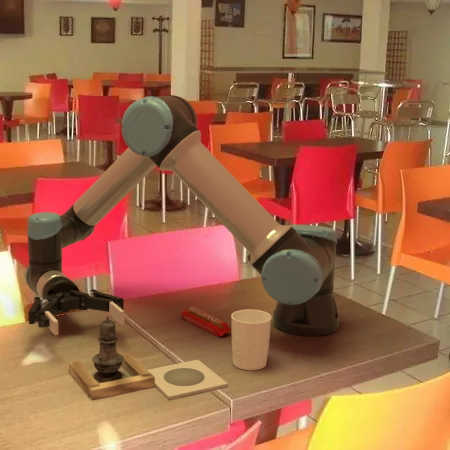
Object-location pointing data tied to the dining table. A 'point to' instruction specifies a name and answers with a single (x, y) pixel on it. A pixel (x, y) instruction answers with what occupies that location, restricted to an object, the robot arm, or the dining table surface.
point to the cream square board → (186, 379)
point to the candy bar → (205, 321)
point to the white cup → (250, 338)
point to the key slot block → (96, 390)
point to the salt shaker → (107, 354)
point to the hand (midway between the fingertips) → (90, 323)
